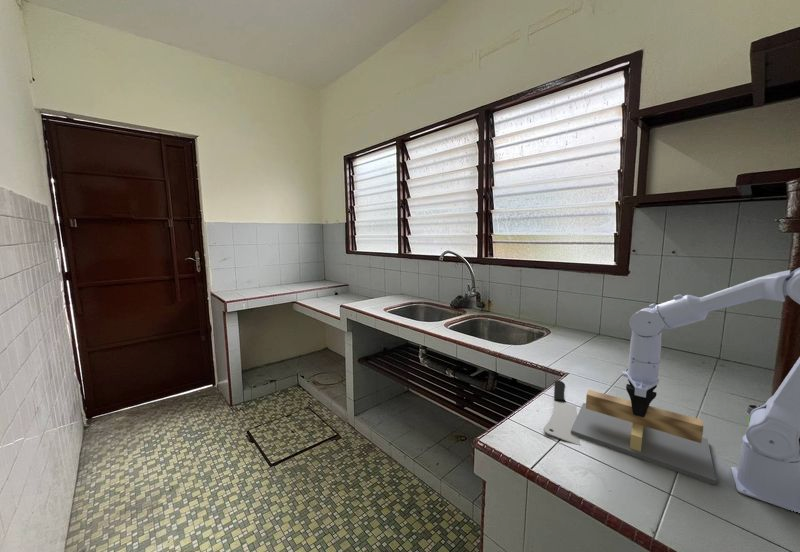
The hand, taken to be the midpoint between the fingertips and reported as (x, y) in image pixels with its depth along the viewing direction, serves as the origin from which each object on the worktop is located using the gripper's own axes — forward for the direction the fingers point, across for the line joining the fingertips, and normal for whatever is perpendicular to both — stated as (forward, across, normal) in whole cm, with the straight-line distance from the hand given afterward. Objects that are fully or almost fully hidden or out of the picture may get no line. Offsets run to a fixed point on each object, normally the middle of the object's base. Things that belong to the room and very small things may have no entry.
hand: (639, 412), depth 76 cm
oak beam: (+2, 0, 0) cm, 2 cm away
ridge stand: (+7, 0, 0) cm, 7 cm away
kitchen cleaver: (+8, -3, -16) cm, 18 cm away
